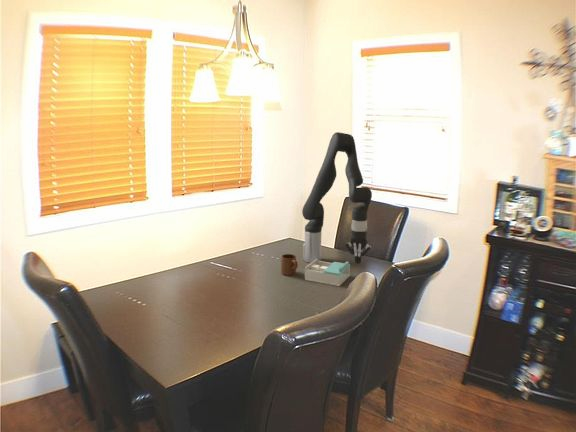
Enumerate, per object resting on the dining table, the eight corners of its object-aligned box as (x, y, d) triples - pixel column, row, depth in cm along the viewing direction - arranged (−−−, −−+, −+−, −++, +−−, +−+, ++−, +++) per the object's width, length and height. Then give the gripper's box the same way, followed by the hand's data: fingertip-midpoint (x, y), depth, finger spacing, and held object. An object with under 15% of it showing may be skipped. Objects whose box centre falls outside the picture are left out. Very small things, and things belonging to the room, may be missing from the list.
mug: (303, 277, 226) (303, 259, 224) (290, 280, 222) (290, 262, 220) (291, 270, 236) (291, 253, 234) (278, 272, 232) (278, 255, 230)
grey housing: (304, 279, 223) (304, 267, 221) (316, 270, 236) (316, 258, 235) (339, 286, 215) (339, 273, 214) (349, 275, 228) (350, 263, 227)
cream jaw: (319, 275, 225) (319, 267, 225) (321, 273, 229) (322, 265, 228) (325, 276, 224) (325, 269, 223) (328, 274, 227) (328, 266, 226)
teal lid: (323, 272, 217) (323, 267, 217) (334, 263, 231) (334, 258, 230) (339, 275, 214) (339, 269, 213) (349, 265, 227) (350, 260, 226)
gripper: (374, 228, 213) (373, 262, 217) (348, 225, 219) (347, 259, 223) (370, 232, 207) (369, 267, 211) (343, 229, 212) (342, 263, 216)
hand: (357, 263), depth 217 cm, fingers closed
